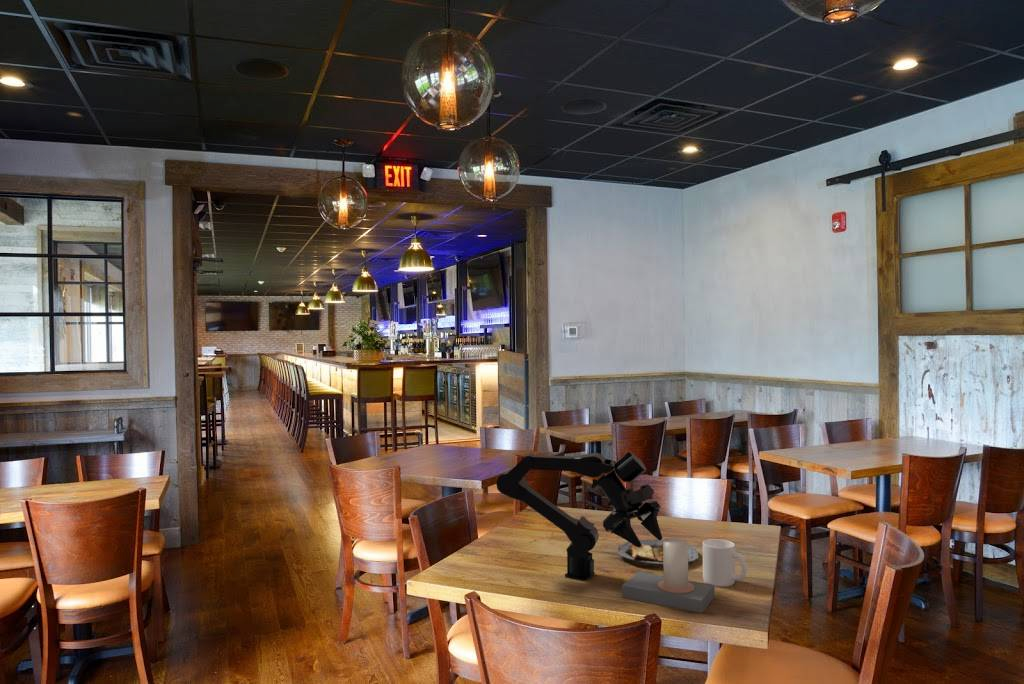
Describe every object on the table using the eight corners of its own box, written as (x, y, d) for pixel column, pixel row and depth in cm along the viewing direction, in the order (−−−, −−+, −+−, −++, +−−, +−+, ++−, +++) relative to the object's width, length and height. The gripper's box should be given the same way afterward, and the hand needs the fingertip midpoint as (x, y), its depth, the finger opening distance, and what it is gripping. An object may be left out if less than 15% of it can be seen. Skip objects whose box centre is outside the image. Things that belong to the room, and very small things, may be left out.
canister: (660, 587, 168) (659, 543, 168) (667, 579, 173) (667, 536, 174) (684, 591, 165) (683, 546, 165) (691, 583, 170) (690, 540, 170)
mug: (754, 585, 178) (753, 546, 178) (739, 593, 173) (739, 553, 173) (712, 574, 187) (712, 537, 187) (697, 581, 181) (696, 543, 181)
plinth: (622, 597, 170) (621, 584, 170) (638, 582, 181) (638, 570, 181) (701, 613, 160) (701, 599, 160) (714, 596, 170) (714, 584, 170)
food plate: (700, 572, 188) (700, 560, 188) (616, 568, 193) (616, 556, 193) (695, 548, 213) (695, 537, 213) (620, 545, 217) (620, 534, 217)
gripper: (611, 480, 172) (647, 532, 164) (654, 470, 185) (690, 518, 177) (588, 505, 178) (621, 557, 170) (631, 494, 191) (664, 542, 182)
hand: (650, 543), depth 175 cm, fingers open, 9 cm apart
